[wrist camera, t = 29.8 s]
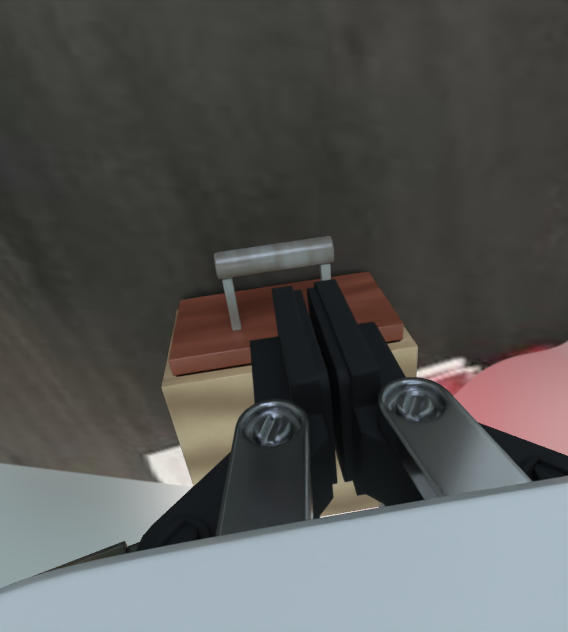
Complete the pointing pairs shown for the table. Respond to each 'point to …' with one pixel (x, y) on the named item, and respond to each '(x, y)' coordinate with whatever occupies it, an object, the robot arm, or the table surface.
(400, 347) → the cabinet
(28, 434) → the table surface
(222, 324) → the drawer
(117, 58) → the table surface
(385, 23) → the table surface
